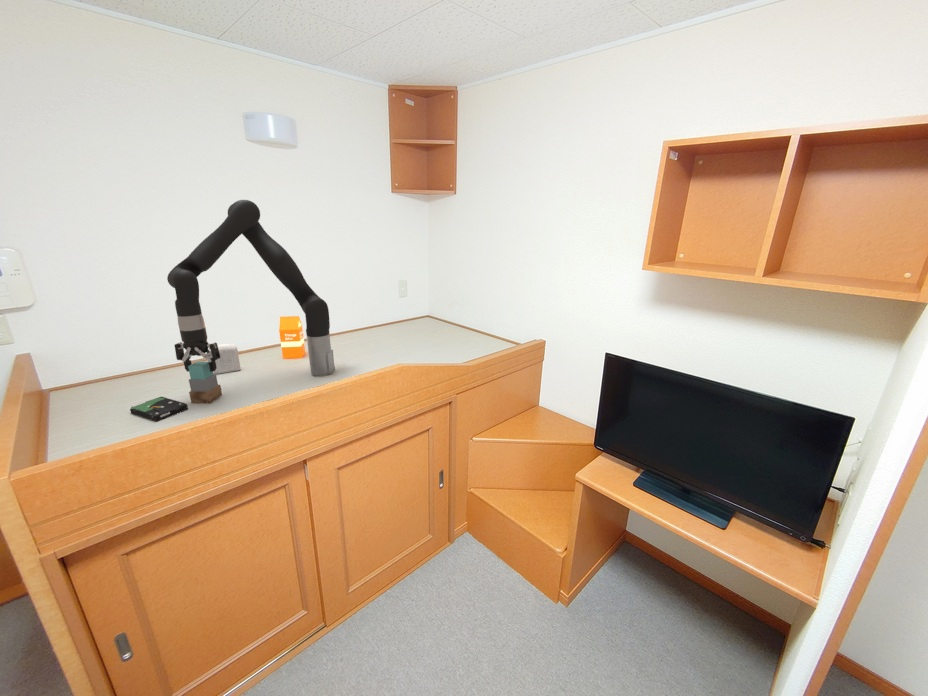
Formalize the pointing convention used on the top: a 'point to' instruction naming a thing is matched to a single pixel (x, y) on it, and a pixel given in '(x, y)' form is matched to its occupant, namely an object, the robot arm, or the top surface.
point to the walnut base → (206, 395)
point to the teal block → (199, 370)
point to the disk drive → (158, 408)
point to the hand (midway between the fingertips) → (201, 371)
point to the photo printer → (227, 359)
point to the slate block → (203, 384)
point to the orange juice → (291, 337)
